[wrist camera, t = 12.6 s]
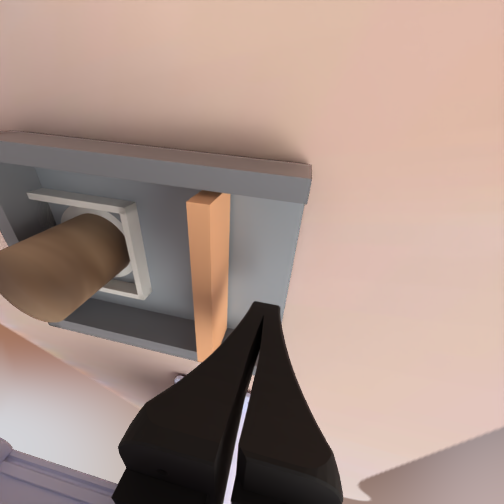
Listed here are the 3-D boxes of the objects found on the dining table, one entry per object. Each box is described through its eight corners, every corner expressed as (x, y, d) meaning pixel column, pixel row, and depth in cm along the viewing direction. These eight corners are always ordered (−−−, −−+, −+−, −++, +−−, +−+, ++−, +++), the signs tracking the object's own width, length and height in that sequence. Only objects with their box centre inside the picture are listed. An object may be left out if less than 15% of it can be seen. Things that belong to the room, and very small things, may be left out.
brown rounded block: (136, 276, 17) (78, 329, 13) (82, 265, 18) (10, 313, 14) (123, 218, 15) (48, 261, 11) (62, 208, 15) (-32, 245, 11)
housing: (277, 343, 18) (272, 379, 16) (80, 299, 21) (49, 325, 18) (311, 164, 12) (312, 179, 9) (13, 130, 14) (-50, 134, 11)
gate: (227, 328, 17) (212, 364, 15) (213, 325, 18) (197, 361, 15) (230, 185, 12) (209, 205, 10) (211, 183, 12) (185, 201, 10)
